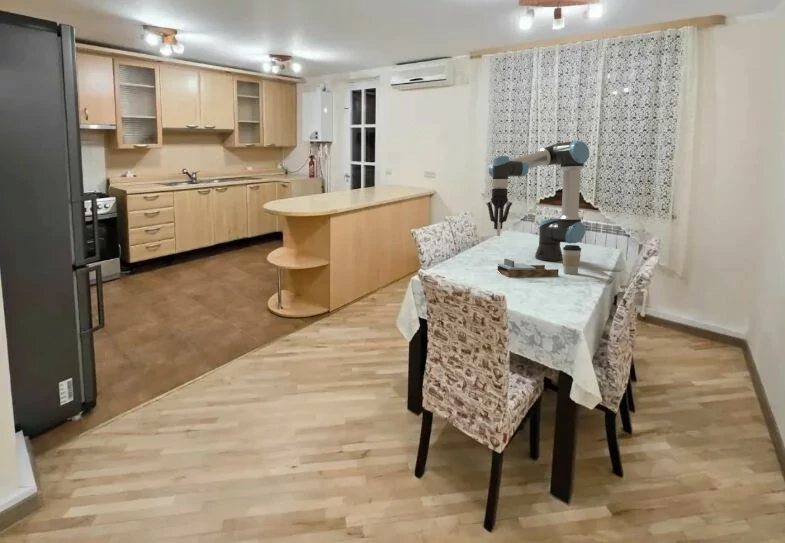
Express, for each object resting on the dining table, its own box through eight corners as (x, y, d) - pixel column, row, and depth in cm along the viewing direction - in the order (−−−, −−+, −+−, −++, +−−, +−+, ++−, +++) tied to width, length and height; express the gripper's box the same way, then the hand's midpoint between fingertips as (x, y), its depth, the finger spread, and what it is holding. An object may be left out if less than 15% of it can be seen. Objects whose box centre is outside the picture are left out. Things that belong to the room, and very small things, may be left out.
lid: (522, 264, 253) (523, 257, 253) (536, 269, 238) (536, 261, 237) (497, 265, 251) (497, 258, 250) (509, 269, 236) (509, 262, 235)
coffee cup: (558, 272, 254) (560, 243, 251) (574, 272, 254) (576, 243, 252) (565, 275, 245) (567, 245, 242) (582, 274, 246) (585, 245, 243)
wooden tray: (543, 271, 256) (544, 265, 255) (558, 276, 240) (558, 269, 240) (497, 272, 252) (497, 265, 251) (508, 277, 236) (509, 270, 236)
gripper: (509, 188, 241) (507, 235, 245) (484, 188, 239) (482, 235, 243) (515, 188, 234) (513, 236, 238) (489, 187, 232) (487, 236, 236)
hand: (497, 235), depth 240 cm, fingers closed
